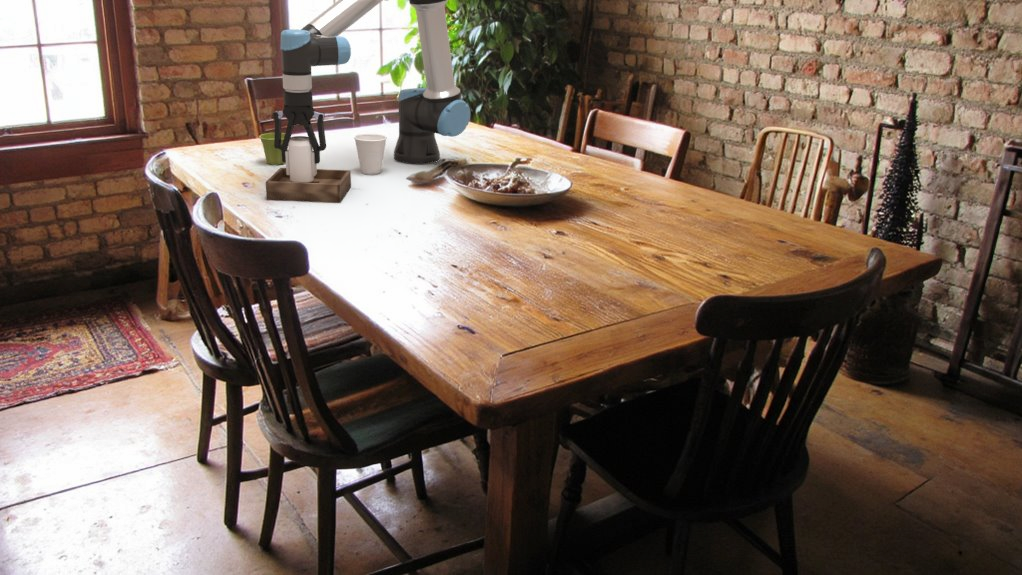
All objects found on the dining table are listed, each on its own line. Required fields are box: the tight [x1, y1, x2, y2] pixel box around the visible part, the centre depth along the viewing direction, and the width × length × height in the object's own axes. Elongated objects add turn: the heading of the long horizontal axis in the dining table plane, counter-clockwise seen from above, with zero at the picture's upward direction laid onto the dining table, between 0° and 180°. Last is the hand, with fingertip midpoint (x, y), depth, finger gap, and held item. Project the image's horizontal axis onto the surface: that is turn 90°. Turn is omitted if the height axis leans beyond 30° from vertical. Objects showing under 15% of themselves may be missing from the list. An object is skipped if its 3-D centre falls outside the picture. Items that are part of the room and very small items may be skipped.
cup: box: [353, 133, 388, 176], centre depth 259 cm, size 10×10×11 cm
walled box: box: [265, 167, 352, 204], centre depth 236 cm, size 20×16×5 cm
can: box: [288, 135, 314, 183], centre depth 233 cm, size 6×6×12 cm
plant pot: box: [258, 132, 288, 166], centre depth 265 cm, size 9×9×9 cm
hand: (301, 174), depth 234 cm, fingers closed on can, 6 cm apart
